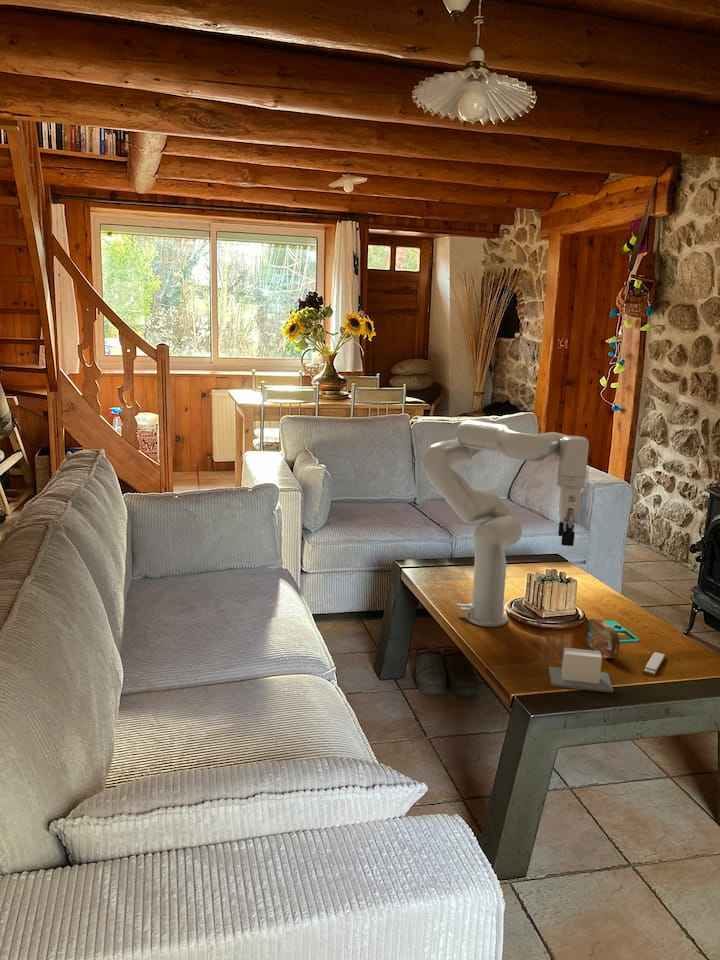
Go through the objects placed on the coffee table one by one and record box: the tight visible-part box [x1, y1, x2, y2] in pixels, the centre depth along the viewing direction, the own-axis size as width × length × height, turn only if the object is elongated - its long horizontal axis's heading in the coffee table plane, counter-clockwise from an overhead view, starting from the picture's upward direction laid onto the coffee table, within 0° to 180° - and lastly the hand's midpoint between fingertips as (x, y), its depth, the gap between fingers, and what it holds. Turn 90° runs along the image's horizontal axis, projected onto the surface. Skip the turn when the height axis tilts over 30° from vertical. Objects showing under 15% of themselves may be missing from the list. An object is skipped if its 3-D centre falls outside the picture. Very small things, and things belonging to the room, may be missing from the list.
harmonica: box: [642, 652, 667, 678], centre depth 205 cm, size 15×3×2 cm, turn 148°
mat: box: [548, 666, 614, 693], centre depth 194 cm, size 15×10×1 cm, turn 80°
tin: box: [585, 618, 620, 659], centre depth 212 cm, size 15×3×8 cm, turn 10°
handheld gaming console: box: [603, 620, 640, 643], centre depth 227 cm, size 8×1×15 cm
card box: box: [561, 647, 603, 683], centre depth 194 cm, size 4×9×7 cm, turn 80°
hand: (565, 540), depth 212 cm, fingers open, 9 cm apart
